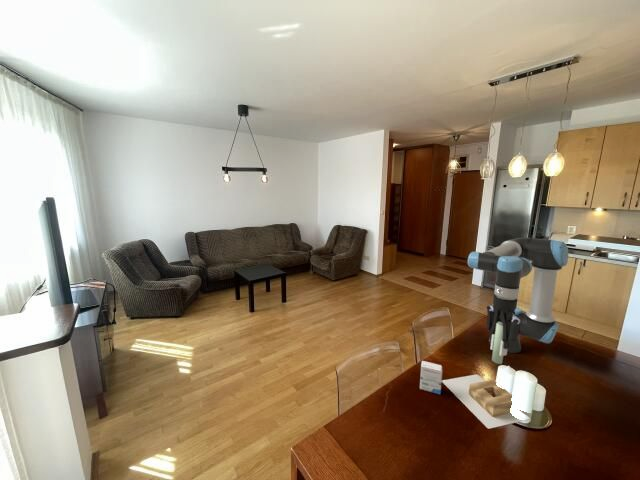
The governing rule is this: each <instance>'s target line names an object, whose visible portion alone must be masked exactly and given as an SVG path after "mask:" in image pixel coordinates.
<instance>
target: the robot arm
mask: <svg viewBox="0 0 640 480" xmlns="http://www.w3.org/2000/svg"><path fill="white" fill-rule="evenodd" d="M568 260H569V247H568V245H567V243H566V242H564V241H562V240H556V239H547V238H534V237H516V238H512V239H508V240H506V241H502V243H501V244H500V245H499V246H496V247H494V248H491V249H488V250H486V251H483V252H479V251H471V252H470V253H469V255H468V258H467V265H468V267H469V268H471V269H475V270H480V271H484V272H488V273H495V274H496V276H495V285H494V290H493V291H494V292H493V294H494V295H493V298H492V303H493V305H488V306H486V309H487V318H486V329H487V331H489V333H490V336H489V339H488V343H489V342H490V343H489V345H490V350H492V351H493V346H494V339H495V331H496V323H498V321H502V323H503V339H502V340H501V346H500V353H499V355H500V356H503V357H504V356H507V354H508V353H510V354H516V353H517V354H518V353H521V350H522V344H521V342H520V341H521V340H520V335H522V336H524V337H527V338H530V339H533V340H535V341H537V342H542V343H544V344H551V343H552V341H553V340H554V339H555V337H556V334H557V332H558V329H559V326H560V325H559V323H558V322H556V318H555V317H554V315H552V311H553V305H554V298H555V289H556V284H557V283H556V282H557V276H558V272H559V271H561V270H562V269H563V267H566V266H567V265H568V262H569V261H568ZM533 269H534V271H533ZM532 271H533V278H532V287H531V288H532V289H531V297H530V306H529V310H527V311H526V312H523V309H521V308H520V307H517V306H518V298H519V292H520V284H521V279H522V278H524V277H526V276H528V275H529V274H530V273H531V272H532Z"/></svg>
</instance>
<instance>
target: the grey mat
mask: <svg viewBox="0 0 640 480" xmlns="http://www.w3.org/2000/svg"><path fill="white" fill-rule="evenodd" d="M483 381H486V380H485V379H484V378H482V377H481V376H480V375H478V374H476V373H475V374H472V375H466V376H460V377H454V378H449V379H442V382H441V383H442V384H443V385H445V386H446V388H447V389H449V390H450V392H452V394H454V396H455V397H456V398H457V399H459V400H460V401H461V403H462V404H463V405H465V407H466V408H467V409H468V410H469V411H470V412H471V413H472V414H473V415H474V416H475V417H476V418H477V420H479V421H480V423H482V424H483V425H484V426H485V428H487V429H493V428H498V427H502V426H506V425H510V424H516V423H518V422H523V421H522V420H519V419H517V418H515V417H514V416H512V414H511V413H508V414H503V415H499V416H494V417H492V416H491V415H490V414H489V413H488V412H487V411H486V410H485V409H484V408H482V407H481V406H480V405H479V404H478V403H477V402H476V401H475V400H474V399H473V398H472V397H471V396H470V395H469V386H470V384H472V383H478V382H483Z"/></svg>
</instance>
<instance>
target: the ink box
mask: <svg viewBox="0 0 640 480" xmlns="http://www.w3.org/2000/svg"><path fill="white" fill-rule="evenodd" d="M419 376H420V377H419V378H420V379H419V390H424V391H427V392H430V393H434V394H438V395H441V392H442V383H443V382H442V380H443V366H442V365H441V364H437V363H434V362H430V361H429V362H428V361H427V360H426V361H425V360H421V364H420V375H419Z"/></svg>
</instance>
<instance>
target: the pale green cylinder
mask: <svg viewBox="0 0 640 480" xmlns="http://www.w3.org/2000/svg"><path fill="white" fill-rule="evenodd" d="M502 339H503V323H502V321H498V323H496V331H495V339H494V346H493V350H492V353H491V354H492V356H491V361H492V362H493V363H495V364H497V365H502V364H503V360H504V356H500V355H499V353H500V346H501V340H502Z"/></svg>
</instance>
